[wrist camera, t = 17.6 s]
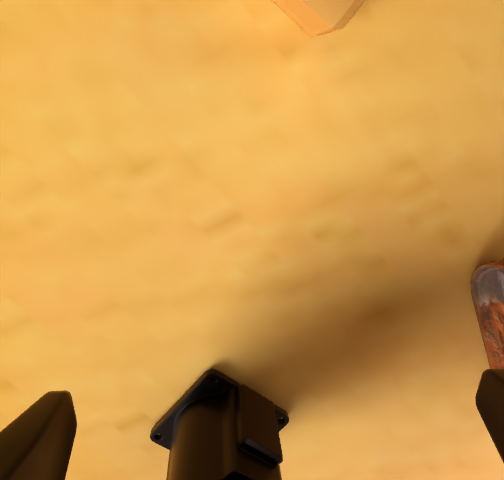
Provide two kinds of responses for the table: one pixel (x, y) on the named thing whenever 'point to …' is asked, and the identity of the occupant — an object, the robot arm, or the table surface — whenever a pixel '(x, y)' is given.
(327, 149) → the table surface
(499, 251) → the table surface
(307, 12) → the rubber stamp
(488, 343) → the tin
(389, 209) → the table surface
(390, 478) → the table surface
